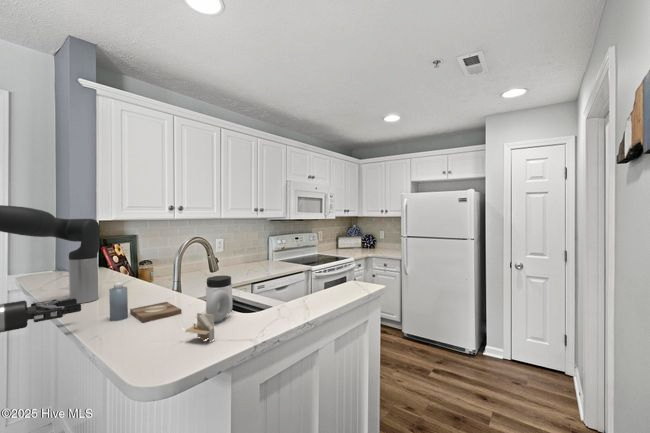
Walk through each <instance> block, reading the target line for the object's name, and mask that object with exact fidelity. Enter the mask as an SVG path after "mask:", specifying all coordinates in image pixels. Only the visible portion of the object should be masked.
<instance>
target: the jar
mask: <svg viewBox="0 0 650 433" xmlns="http://www.w3.org/2000/svg"><path fill="white" fill-rule="evenodd" d="M217 290H223V291H225V292H226V293H227V294H228V295H229V298H230V307H229V311H228V314H230V313H231V312H232V310H233V282H232V276H230V275H214V276H209V277H208V278H206V286H205V305H206V304H207V301H208V299H209V297H210V296H211V295H212V293H214V292H215V291H217ZM218 308H219V303H218V307H217V310H218Z"/></svg>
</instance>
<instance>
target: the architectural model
mask: <svg viewBox="0 0 650 433" xmlns="http://www.w3.org/2000/svg"><path fill="white" fill-rule="evenodd" d="M195 318H196V321H197V322H196V323H195V322H194V323H193V326H192V327H189V328H187V329H185V330H184V333H191V334H196V335H197V338H198V337H200V338H201V339H200V340H201V341H203V340H205V339H207V338H209V340H208V341H209V342H210V341H212V340H213V339H214V340H215V322H214V315H210V314H206V313H199V312H197V313H196V316H195Z"/></svg>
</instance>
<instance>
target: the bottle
mask: <svg viewBox="0 0 650 433" xmlns="http://www.w3.org/2000/svg"><path fill="white" fill-rule="evenodd" d="M108 293H109V295H108V296H109V298H108V299H109V321H110V322H117V321H123V320H126V319H128V318H129V311H128V310H129V309H128V308H129V306H128V305H129V304H128V300H129V299H128V287H127V286H124V281H116V282H113V288H109V292H108Z"/></svg>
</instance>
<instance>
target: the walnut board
mask: <svg viewBox="0 0 650 433" xmlns="http://www.w3.org/2000/svg"><path fill="white" fill-rule="evenodd" d="M129 313H130V315H132V316H133V317H134V318H136V319H137V320H139V321H140V322H141V323H149V322H151V321H155V320H161V319H165V318H169V317H173V316H177V315H182V308H180V307H179V306H176V305H174V304H172V303H170V302H168V301H164V302H158V303H153V304H149V305H145V306H138V307H135V308H130V309H129Z"/></svg>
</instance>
